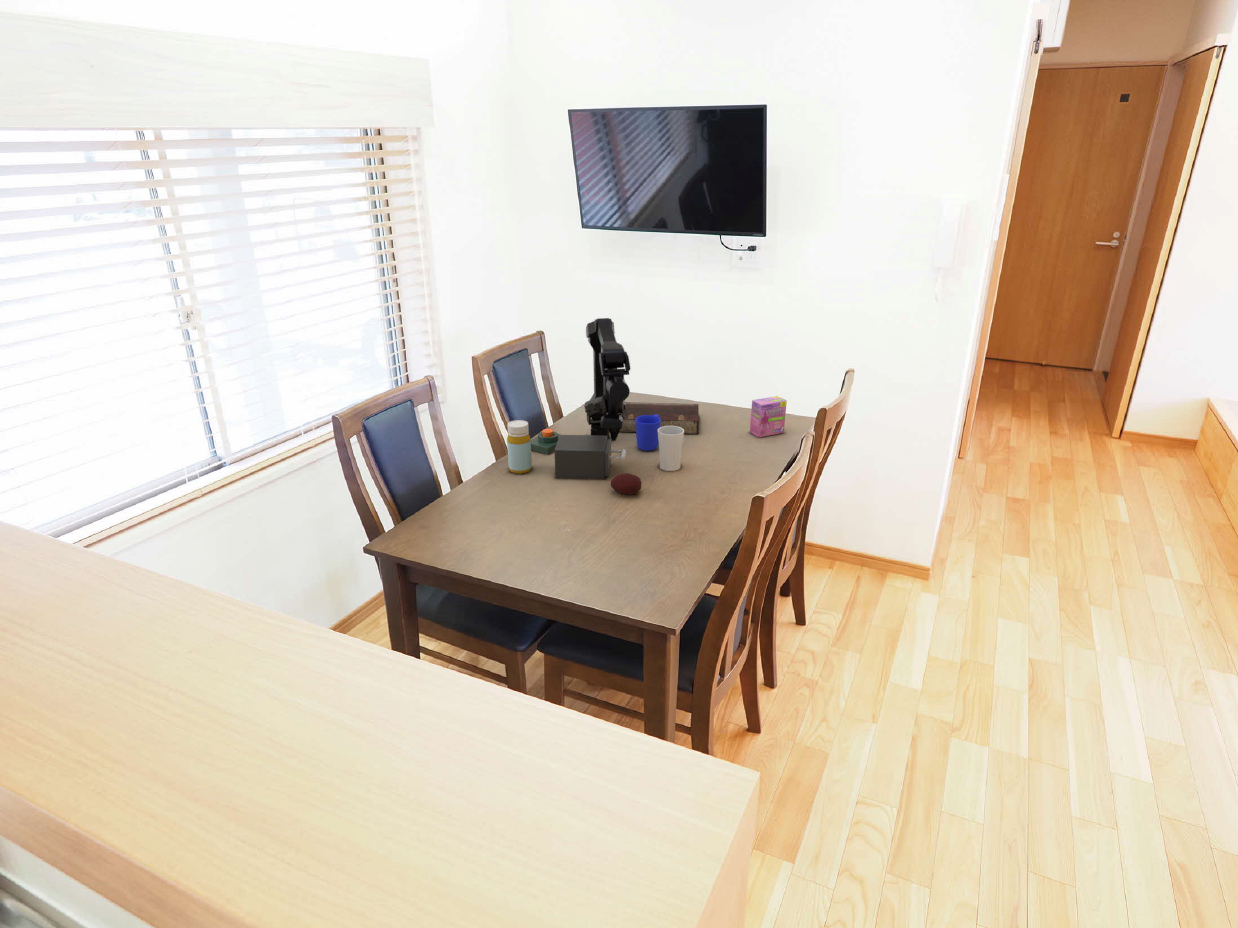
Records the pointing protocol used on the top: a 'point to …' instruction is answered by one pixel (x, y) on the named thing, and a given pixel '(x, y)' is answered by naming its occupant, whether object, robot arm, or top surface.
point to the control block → (545, 443)
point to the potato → (626, 483)
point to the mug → (647, 432)
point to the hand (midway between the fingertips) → (613, 440)
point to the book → (663, 415)
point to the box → (768, 416)
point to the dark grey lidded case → (580, 457)
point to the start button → (548, 432)
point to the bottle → (519, 447)
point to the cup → (670, 447)
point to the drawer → (608, 457)
